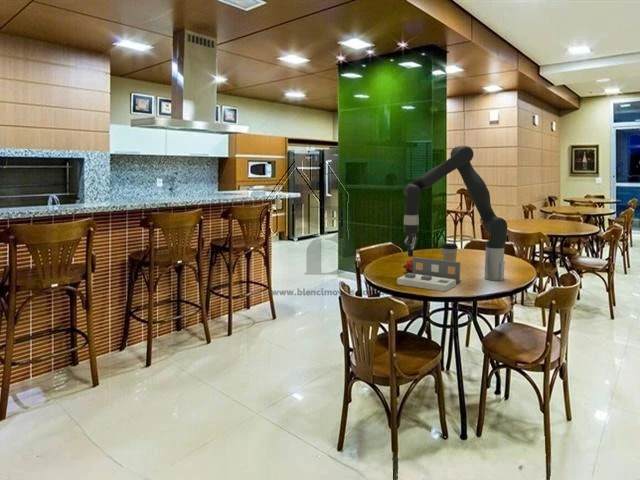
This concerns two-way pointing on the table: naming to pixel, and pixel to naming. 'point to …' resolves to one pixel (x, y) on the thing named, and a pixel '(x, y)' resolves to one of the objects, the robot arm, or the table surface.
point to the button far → (410, 275)
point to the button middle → (426, 277)
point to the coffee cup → (449, 252)
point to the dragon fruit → (409, 266)
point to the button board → (427, 283)
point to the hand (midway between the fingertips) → (410, 256)
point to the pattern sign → (437, 268)
